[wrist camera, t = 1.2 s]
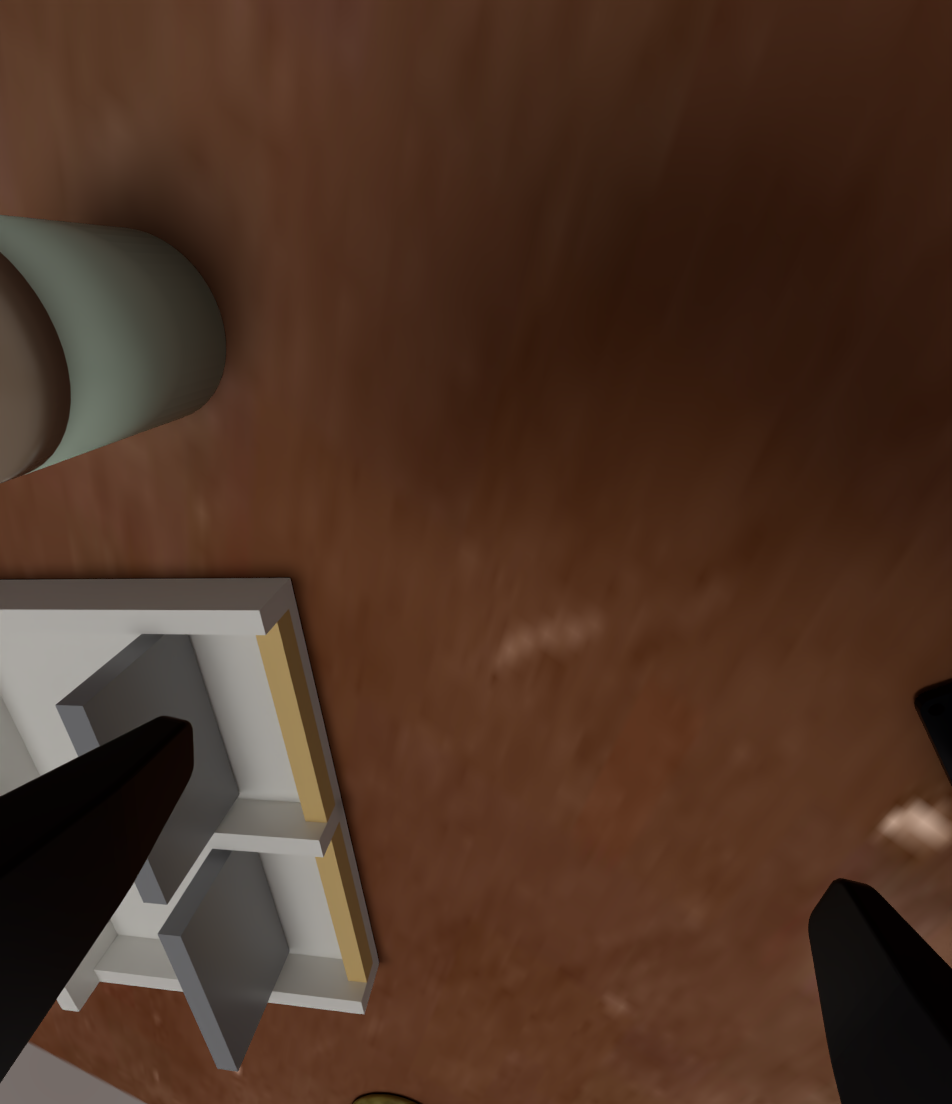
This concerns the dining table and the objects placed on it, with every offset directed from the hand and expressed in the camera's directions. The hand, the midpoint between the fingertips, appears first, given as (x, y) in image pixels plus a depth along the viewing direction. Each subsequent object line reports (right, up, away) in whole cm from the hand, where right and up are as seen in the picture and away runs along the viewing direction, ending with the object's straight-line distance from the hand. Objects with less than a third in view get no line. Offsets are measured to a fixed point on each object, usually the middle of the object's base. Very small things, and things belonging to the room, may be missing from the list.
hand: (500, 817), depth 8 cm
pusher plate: (-12, -3, +17) cm, 21 cm away
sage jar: (-11, +11, +12) cm, 20 cm away
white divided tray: (-14, -8, +21) cm, 26 cm away
